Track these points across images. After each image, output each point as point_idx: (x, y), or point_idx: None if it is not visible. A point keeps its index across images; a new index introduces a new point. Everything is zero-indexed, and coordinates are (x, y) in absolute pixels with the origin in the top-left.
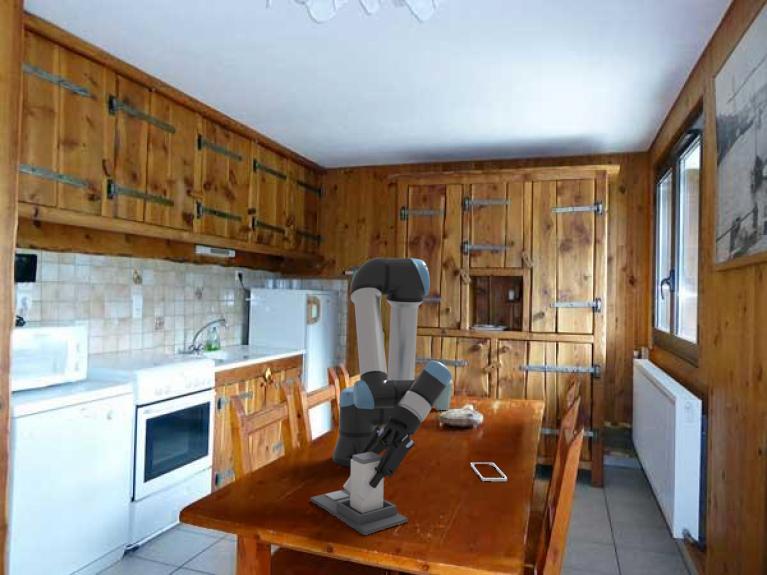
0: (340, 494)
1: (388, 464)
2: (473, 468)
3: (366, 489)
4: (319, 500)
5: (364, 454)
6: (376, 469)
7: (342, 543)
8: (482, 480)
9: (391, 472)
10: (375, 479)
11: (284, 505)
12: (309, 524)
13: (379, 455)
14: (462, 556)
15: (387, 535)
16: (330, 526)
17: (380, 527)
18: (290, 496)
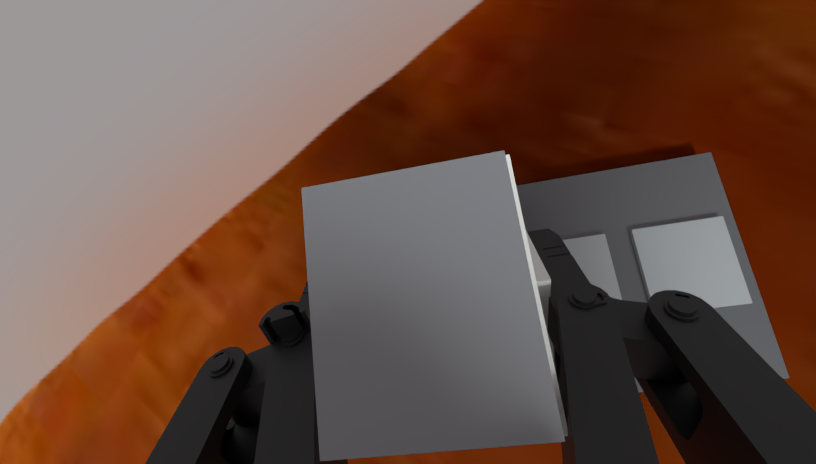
0: (690, 281)
1: (189, 415)
2: None
3: None
4: (657, 174)
5: (478, 290)
6: (275, 306)
7: (307, 145)
8: None
9: (233, 420)
10: (304, 294)
11: (690, 59)
12: (477, 97)
13: (353, 443)
14: (66, 422)
15: (284, 292)
16: (431, 152)
17: None
18: (795, 100)
